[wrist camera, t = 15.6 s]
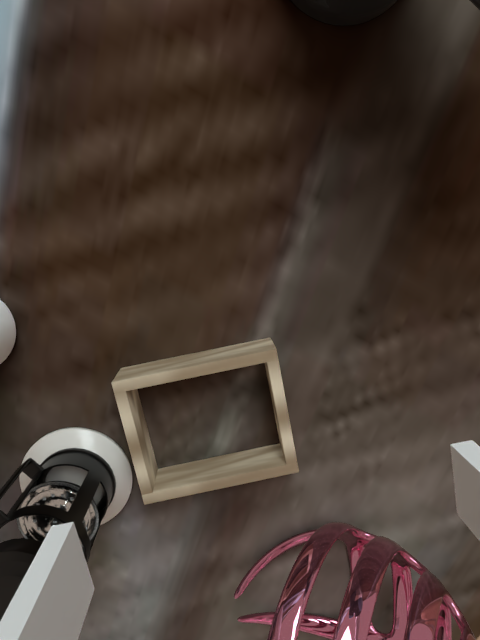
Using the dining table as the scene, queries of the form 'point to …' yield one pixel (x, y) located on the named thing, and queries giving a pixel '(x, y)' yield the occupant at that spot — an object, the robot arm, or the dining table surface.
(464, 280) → the dining table surface
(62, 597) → the robot arm
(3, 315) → the wine bottle
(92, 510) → the french press
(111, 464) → the trivet
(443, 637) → the spiral basket
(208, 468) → the holder
